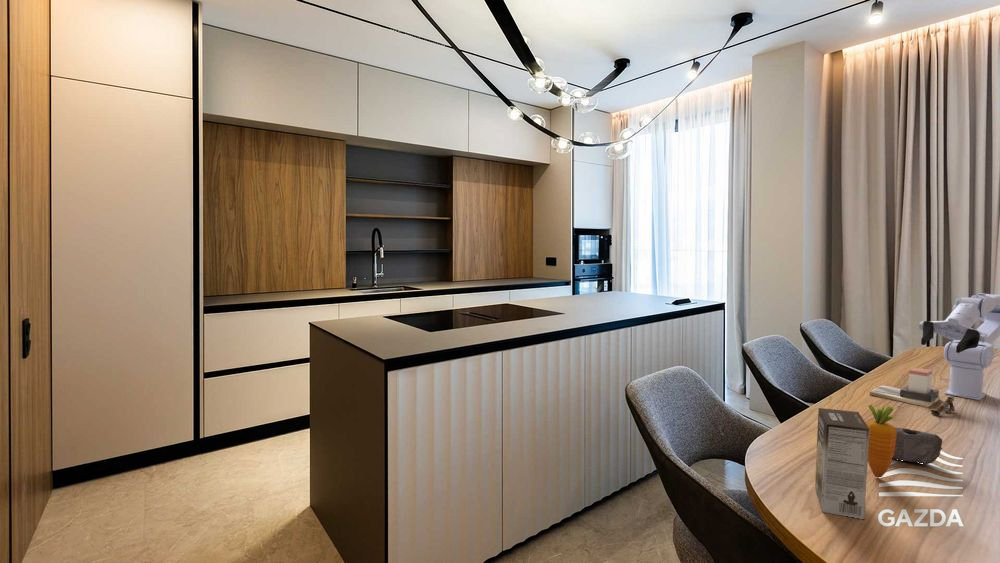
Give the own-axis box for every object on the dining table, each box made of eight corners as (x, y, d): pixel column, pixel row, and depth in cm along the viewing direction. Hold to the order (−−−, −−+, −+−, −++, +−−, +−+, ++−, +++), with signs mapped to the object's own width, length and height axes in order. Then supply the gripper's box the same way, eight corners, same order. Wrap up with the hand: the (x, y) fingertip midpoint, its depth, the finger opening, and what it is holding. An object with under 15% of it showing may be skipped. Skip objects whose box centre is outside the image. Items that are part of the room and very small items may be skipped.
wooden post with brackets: (959, 409, 134) (956, 395, 133) (941, 424, 132) (938, 410, 131) (951, 407, 136) (948, 393, 135) (933, 422, 133) (930, 408, 133)
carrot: (855, 473, 100) (859, 400, 98) (878, 471, 100) (882, 400, 99) (876, 485, 95) (880, 409, 94) (900, 483, 95) (905, 408, 94)
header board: (881, 388, 156) (882, 379, 156) (939, 399, 145) (940, 389, 145) (869, 394, 150) (870, 385, 149) (929, 407, 138) (929, 396, 138)
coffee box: (813, 488, 94) (817, 406, 92) (853, 495, 91) (858, 411, 90) (821, 512, 85) (826, 422, 84) (866, 521, 83) (871, 428, 81)
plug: (913, 393, 147) (914, 367, 147) (930, 396, 144) (932, 370, 144) (907, 396, 144) (909, 370, 144) (925, 400, 141) (927, 373, 141)
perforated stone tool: (849, 451, 110) (851, 421, 109) (854, 444, 114) (856, 415, 113) (939, 473, 99) (941, 440, 99) (941, 465, 103) (943, 433, 102)
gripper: (928, 305, 147) (908, 327, 142) (994, 316, 135) (975, 341, 130) (927, 324, 150) (908, 347, 144) (992, 337, 138) (973, 362, 133)
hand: (939, 345), depth 137 cm, fingers open, 7 cm apart
